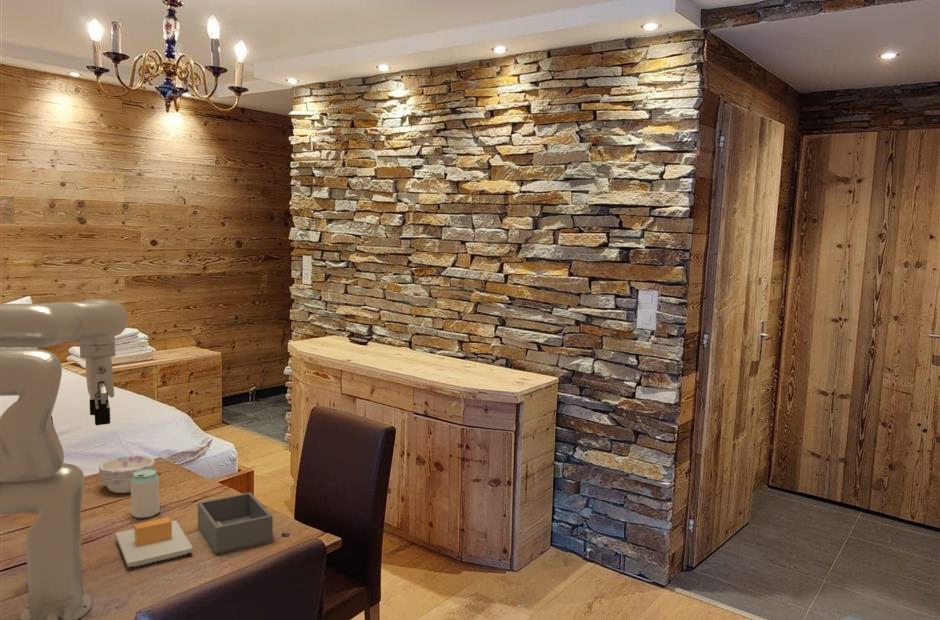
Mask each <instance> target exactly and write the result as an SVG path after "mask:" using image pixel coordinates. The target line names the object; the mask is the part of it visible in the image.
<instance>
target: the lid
mask: <svg viewBox="0 0 940 620" xmlns="http://www.w3.org/2000/svg"><path fill="white" fill-rule="evenodd" d="M114 535H115V539H116V542H117V544H118V546H119V549H120V552H121V554H122V557H123V559H124V562H125V564H126V567H127V568H130V567H132V568H136V567H140V566H141V565H142V566H146V565H149V564H148V563H150V564H153V563H152V562H154V563H157V562H156V561H159V562H161V561H160V560H163V561H166V560H165V559H167V560H171V559H175V558H179V557H178V556H180V557H183V556H182V555H184V556H187V554H190V553H193V552H194V547H193V546H192V544H191V543H190V541H189V539H188V537H187V536H186V534H185V533H184V531H183V530H182V527H181V526H180V525H179V523H178V522H177V520H171V518H170V517H163V518H159V519H154V520H150V521H145V522H140V523H134V524H133V528H132V529H127V530H123V531H117V532H115V533H114ZM174 557H175V558H174ZM170 558H171V559H170ZM145 564H146V565H145Z"/></svg>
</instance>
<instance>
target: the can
mask: <svg viewBox="0 0 940 620" xmlns="http://www.w3.org/2000/svg"><path fill="white" fill-rule="evenodd" d="M130 499H131V500H130V505H131V507H130V509H131V515H132V517H134V518H136V519H141V520H142V519H149V518H153V517H154V516H156V515H157V514H158V513H159V512H160V509H161V508H160V507H161V506H160V501H161V500H160V476H159V475H158V474H157V470H156V469H155V470H152V469H145V470H139V471H137V472H135V473H134V474H133V477H132V479H131V492H130Z"/></svg>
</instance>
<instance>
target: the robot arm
mask: <svg viewBox="0 0 940 620" xmlns="http://www.w3.org/2000/svg"><path fill="white" fill-rule="evenodd" d="M127 325H128V313H127V310H126V308H125V306H124V305H123V304H121V303H120V302H113V301H111V300H110V299H105V298H92V299H91V298H90V299H84V300H82V301H79V302H78V301H77V302H76V301H57V302H56V301H55V302H46V303H43V302H42V303H0V397H2V396H4V397H5V396H15V397H16V396H18V398H17V400H16V401H15V402H14V403H12V404H11V405H10V406H9V407H7V409H6V410H5V411H4V412H2V414H1V416H0V515H12V514H14V515H18V514H38V515H39V517H38V518H37V519H36V520H35V521H34V522H33V523H32V524H31V526H30V527H29V528H28V530H27V533H26V536H25V537H26V538H25V542H26V543H25V547H26V548H25V549H26V569H27V586H28V588H27V589H28V592H27V593H28V604H27V606H25V607H24V609H23V610H22V611H21V612H20V615H19V616H20V620H79V619H82V617H84V616H85V615H86V614H87V613H88V612H89V611H91V608H92V606H93V605H92V604H93V603H92V602H93V601H92V596H90V595H89V594H88V593H85V592H84V584H83V561H82V560H83V556H82V555H83V554H82V531H81V530H82V529H81V528H82V527H81V526H82V525H81V517H82V516H81V515H82V505H83V504H82V502H83V496H84V489H85V474H84V473H83V470H81V468H80V467H78V466H77V465H75V464H72V463H64V462H65V453H64V448H63V445H62V444H61V440H60V439H59V436H58V433H57V431H56V428H55V426H54V423H53V420H52V414H53V410H54V408H55V407H54V406H56V405H55V404H56V401H57V398H58V394H59V390H60V386H61V380H62V374H63V373H62V372H63V369H62V363H61V360H60V358H59V356H58V355H56V354H55V353H53V352H52V351H50V350H49V351H48V350H45V349H40V348H47V347H51V346H55V345H56V346H57V345H59V344H65V343H72V342H73V343H74V342H79V358H80V359H83V360H85V373H86V374H85V377H86V378H85V379H86V387H87V392H88V395H89V398H90V399H88V401H89V415H90V416H94V424H95V426H101V425H110V424H111V407H110V402H109V397H110V398H114V397H115V388H114V384H115V383H114V369H113V362H112V361H113V360H112V358H113V357H116V336H120V335H121V334H122V333H123V332H124V331H125V330H126V327H127Z"/></svg>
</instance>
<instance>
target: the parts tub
mask: <svg viewBox="0 0 940 620" xmlns="http://www.w3.org/2000/svg"><path fill="white" fill-rule="evenodd" d="M273 517H274V516H273V514H272V513H270V511H269V510H268V509H266V508H265V506H264V505H263V504H262V503H261V502H260V501H259V499H257V498H256V497H255V495H254V494H253V493H252V492H245V493H240V494H235V495H230V496H225V497H219V498H215V499H209V500H205V501H200V502H197V528H198V530H199V531H201V532H200V533H201V535H202V536H203V538H204V539H205V541H206V542H207V544H208V545H209V547H210V548H211V549H212V551H213V553H214V554H215V556H220V555H224V554H229V553H232V552H236V551H241V550H245V549H249V548H253V547H257V546H261V545H262V546H263V545H265V544H270V543H273V540H274V539H273V537H274V536H273V534H274V533H273V532H274V531H273V529H274V528H273V527H274V526H273V524H274V523H273V522H274V520H273Z"/></svg>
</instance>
